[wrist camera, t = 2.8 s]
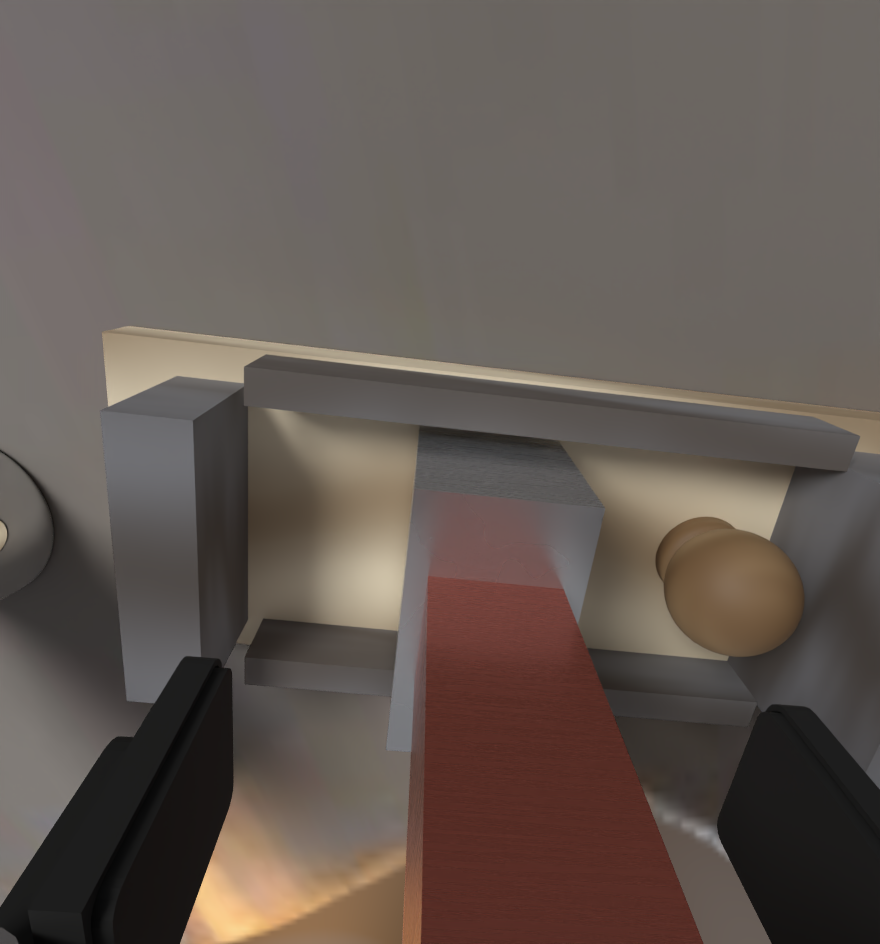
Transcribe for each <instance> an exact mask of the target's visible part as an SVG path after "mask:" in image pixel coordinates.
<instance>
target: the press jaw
mask: <svg viewBox="0 0 880 944" xmlns="http://www.w3.org/2000/svg"><path fill="white" fill-rule="evenodd" d="M604 512H605V507H604V506H603V504H602V503H601V501H600V500H599V499H598V497H597V496H596V494H595V493H594V491H593V490H592V488H591V487H590V486H589V484H588V483H587V481H586V480H585V478H584V477H583V475H582V474H581V472H580V471H579V470H578V468H577V467H576V465H575V464H574V462H573V461H572V459H571V458H570V457H569V455H568V454H567V452H566V451H565V449H564V448H563V446H562V445H561V443H560V442H559V441H558V440H552V439H543V438H534V437H524V436H515V435H506V434H497V433H488V432H479V431H470V430H460V429H451V428H442V427H433V426H424V425H420V427H419V436H418V445H417V455H416V464H415V473H414V483H413V492H412V501H411V511H410V520H409V529H408V538H407V548H406V557H405V566H404V576H403V585H402V594H401V604H400V613H399V622H398V632H397V642H396V652H395V662H394V673H393V683H392V693H391V703H390V713H389V724H388V734H387V744H386V750H392V751H404V752H411V766H410V787H409V809H408V830H407V852H406V873H405V895H404V896H405V897H404V917H403V938H402V939H403V940H402V944H703V941H702V939H701V936H700V934H699V931H698V929H697V926H696V924H695V921H694V919H693V916H692V914H691V911H690V909H689V906H688V903H687V901H686V898H685V896H684V893H683V891H682V888H681V886H680V883H679V880H678V878H677V876H676V873H675V871H674V868H673V865H672V863H671V860H670V858H669V855H668V853H667V850H666V848H665V845H664V842H663V840H662V837H661V835H660V833H659V830H658V827H657V825H656V822H655V820H654V817H653V815H652V812H651V809H650V807H649V804H648V802H647V799H646V797H645V794H644V792H643V789H642V787H641V784H640V782H639V779H638V776H637V774H636V771H635V769H634V766H633V764H632V761H631V759H630V756H629V754H628V751H627V749H626V746H625V744H624V741H623V738H622V736H621V733H620V731H619V728H618V726H617V723H616V721H615V718H614V716H613V713H612V711H611V708H610V705H609V703H608V700H607V698H606V695H605V693H604V690H603V688H602V685H601V683H600V680H599V678H598V675H597V672H596V670H595V667H594V665H593V662H592V660H591V657H590V655H589V652H588V650H587V647H586V645H585V642H584V639H583V637H582V634H581V632H580V629H579V627H578V622H579V618H580V614H581V610H582V606H583V601H584V597H585V593H586V589H587V584H588V580H589V576H590V572H591V567H592V563H593V559H594V555H595V551H596V546H597V542H598V538H599V534H600V529H601V525H602V521H603V517H604Z"/></svg>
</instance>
